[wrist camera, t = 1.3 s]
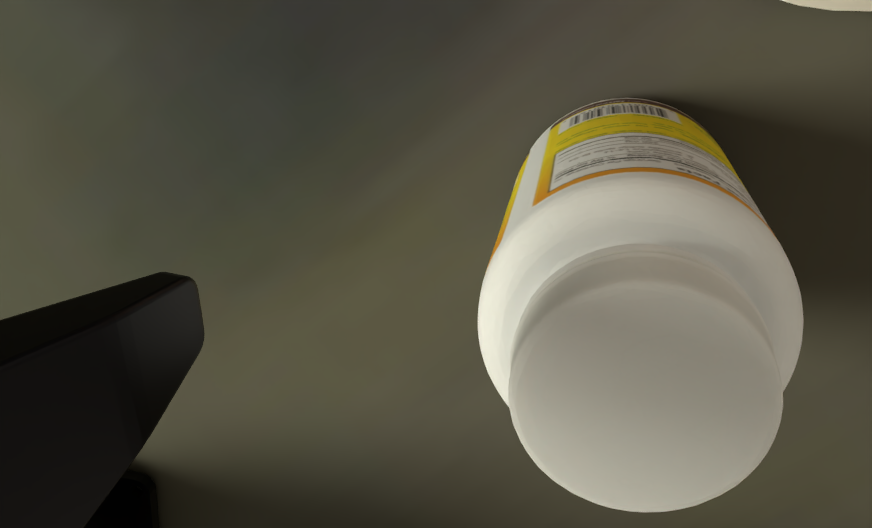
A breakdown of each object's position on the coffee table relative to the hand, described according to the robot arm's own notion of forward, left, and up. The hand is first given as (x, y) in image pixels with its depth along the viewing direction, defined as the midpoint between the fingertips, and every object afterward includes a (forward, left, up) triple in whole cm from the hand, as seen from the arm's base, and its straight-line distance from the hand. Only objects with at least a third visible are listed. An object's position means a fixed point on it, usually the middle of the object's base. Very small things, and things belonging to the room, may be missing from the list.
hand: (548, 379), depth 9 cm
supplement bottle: (-2, -1, -13) cm, 13 cm away
